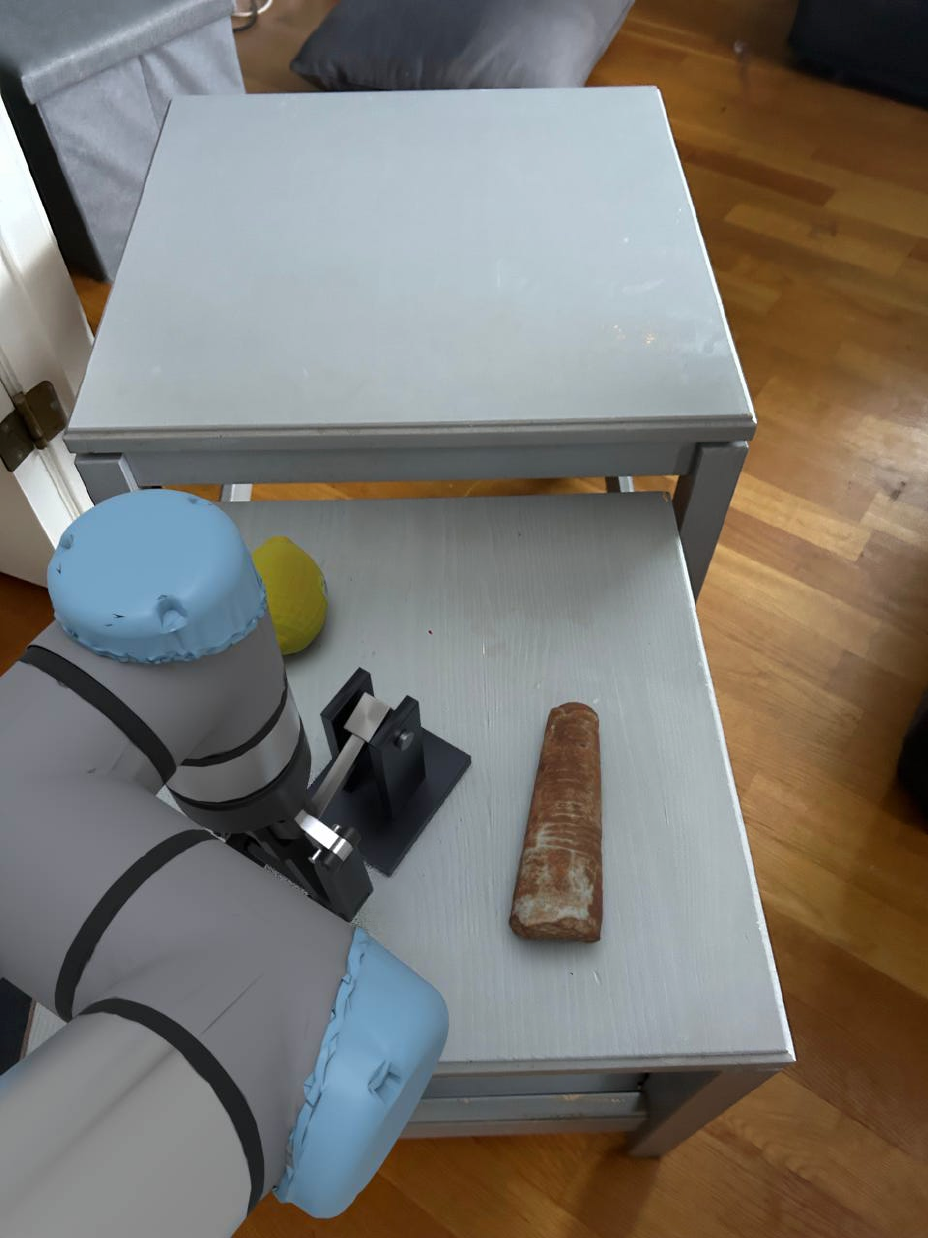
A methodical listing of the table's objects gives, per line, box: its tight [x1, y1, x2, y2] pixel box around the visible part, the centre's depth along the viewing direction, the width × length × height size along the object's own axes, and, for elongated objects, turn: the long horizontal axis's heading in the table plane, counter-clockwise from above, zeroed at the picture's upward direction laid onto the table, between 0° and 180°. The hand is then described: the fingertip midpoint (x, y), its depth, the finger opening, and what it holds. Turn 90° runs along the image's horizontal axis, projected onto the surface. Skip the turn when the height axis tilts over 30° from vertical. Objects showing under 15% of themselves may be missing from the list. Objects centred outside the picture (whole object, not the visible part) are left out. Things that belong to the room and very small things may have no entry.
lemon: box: [250, 535, 329, 656], centre depth 79 cm, size 11×8×8 cm
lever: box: [244, 692, 395, 894], centre depth 64 cm, size 13×6×2 cm, turn 147°
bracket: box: [307, 666, 472, 877], centre depth 68 cm, size 11×9×13 cm
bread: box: [508, 701, 604, 944], centre depth 69 cm, size 6×19×6 cm, turn 169°
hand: (296, 889), depth 67 cm, fingers closed on lever, 6 cm apart
